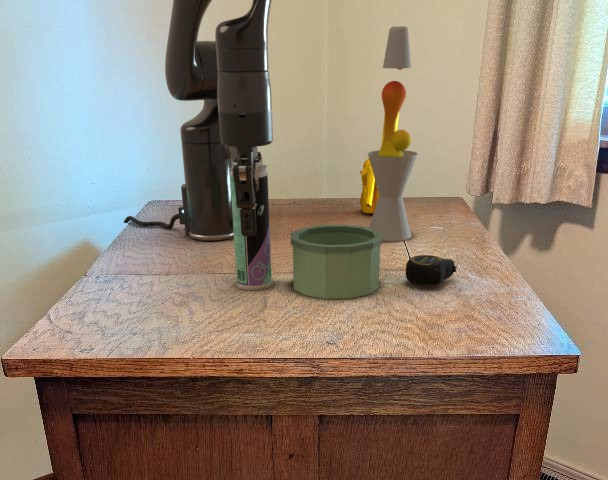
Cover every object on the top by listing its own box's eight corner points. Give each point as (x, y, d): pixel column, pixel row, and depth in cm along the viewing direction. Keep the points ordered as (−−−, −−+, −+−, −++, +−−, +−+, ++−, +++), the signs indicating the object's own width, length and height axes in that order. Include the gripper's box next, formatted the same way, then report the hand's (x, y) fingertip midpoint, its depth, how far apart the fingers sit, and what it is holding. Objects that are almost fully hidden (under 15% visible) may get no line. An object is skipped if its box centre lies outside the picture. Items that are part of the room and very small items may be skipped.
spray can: (266, 291, 110) (261, 151, 100) (232, 289, 111) (223, 151, 101) (275, 280, 115) (270, 146, 105) (242, 279, 116) (234, 145, 106)
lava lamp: (359, 239, 137) (365, 26, 119) (373, 228, 144) (381, 26, 127) (405, 243, 134) (418, 26, 116) (417, 232, 142) (431, 26, 124)
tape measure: (437, 292, 109) (439, 268, 107) (397, 285, 112) (398, 261, 110) (455, 281, 114) (457, 257, 112) (416, 274, 117) (417, 251, 115)
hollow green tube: (275, 291, 110) (273, 240, 106) (317, 268, 121) (317, 221, 117) (356, 304, 104) (358, 251, 100) (393, 279, 115) (395, 230, 111)
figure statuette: (359, 204, 166) (362, 98, 154) (393, 204, 165) (399, 97, 154) (357, 221, 150) (360, 105, 139) (395, 221, 150) (401, 105, 139)
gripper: (225, 103, 107) (233, 220, 115) (210, 113, 94) (219, 242, 103) (275, 102, 106) (279, 220, 115) (266, 112, 94) (271, 242, 103)
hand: (251, 230), depth 109 cm, fingers closed on spray can, 5 cm apart
